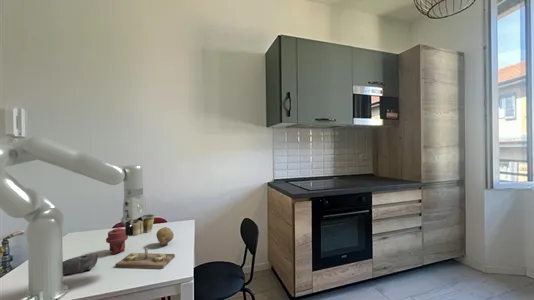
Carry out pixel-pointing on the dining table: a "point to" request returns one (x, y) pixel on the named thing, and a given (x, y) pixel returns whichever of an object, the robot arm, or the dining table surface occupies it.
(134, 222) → the birch gear
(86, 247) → the dining table surface
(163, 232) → the natural sponge
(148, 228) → the ceramic cup
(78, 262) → the perforated stone tool
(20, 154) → the robot arm
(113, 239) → the mechanical component
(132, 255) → the gear board
